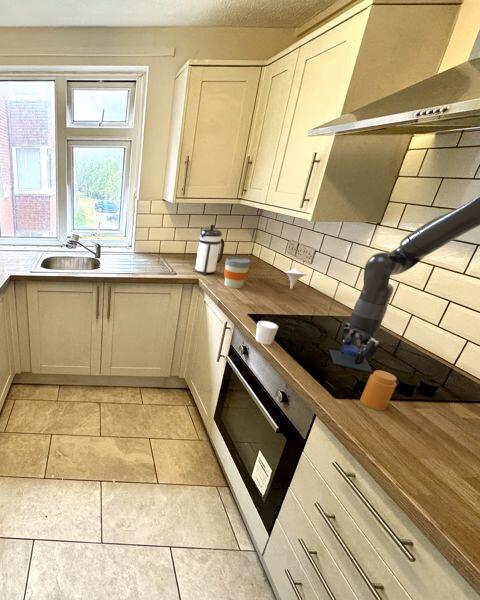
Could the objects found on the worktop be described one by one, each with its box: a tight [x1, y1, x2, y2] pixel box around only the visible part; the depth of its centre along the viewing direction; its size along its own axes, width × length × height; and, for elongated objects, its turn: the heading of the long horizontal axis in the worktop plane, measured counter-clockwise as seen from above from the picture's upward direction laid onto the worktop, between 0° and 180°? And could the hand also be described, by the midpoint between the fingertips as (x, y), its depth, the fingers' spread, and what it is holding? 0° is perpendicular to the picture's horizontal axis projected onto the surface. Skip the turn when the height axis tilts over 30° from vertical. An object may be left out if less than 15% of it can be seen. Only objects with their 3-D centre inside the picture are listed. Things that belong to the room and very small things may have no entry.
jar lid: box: [342, 344, 364, 358], centre depth 106 cm, size 6×6×2 cm
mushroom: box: [283, 267, 308, 290], centre depth 171 cm, size 10×11×12 cm
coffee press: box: [194, 224, 225, 276], centre depth 196 cm, size 17×16×30 cm
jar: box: [359, 369, 397, 411], centre depth 86 cm, size 5×5×10 cm
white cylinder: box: [255, 320, 279, 346], centre depth 119 cm, size 7×7×7 cm
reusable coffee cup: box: [223, 256, 251, 289], centre depth 175 cm, size 13×13×15 cm
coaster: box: [328, 349, 374, 374], centre depth 107 cm, size 10×10×1 cm
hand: (350, 358), depth 107 cm, fingers closed on jar lid, 5 cm apart
